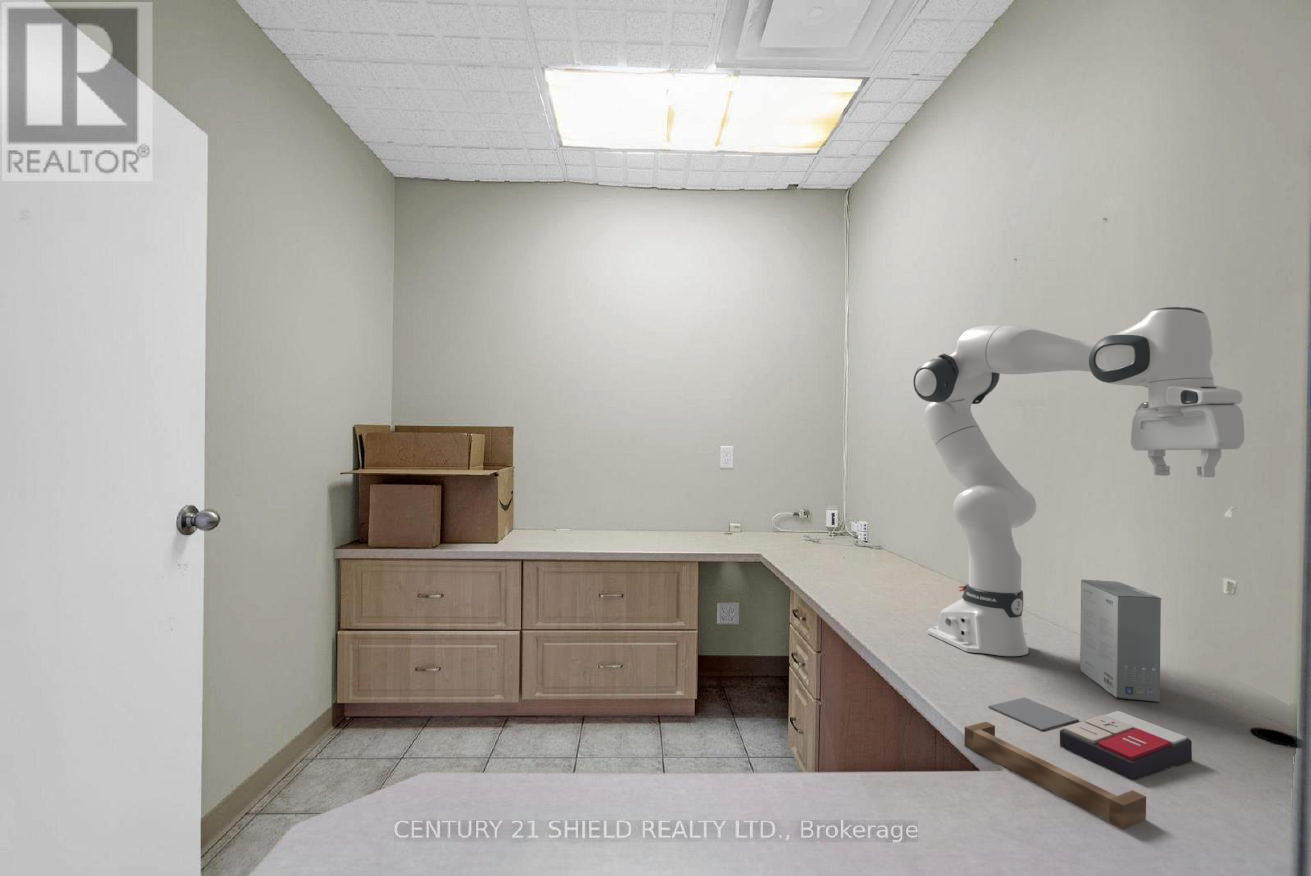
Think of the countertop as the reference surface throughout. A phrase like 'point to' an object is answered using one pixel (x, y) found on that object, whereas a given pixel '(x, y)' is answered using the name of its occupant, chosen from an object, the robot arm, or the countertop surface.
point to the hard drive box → (1121, 639)
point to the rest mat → (1033, 714)
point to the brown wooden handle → (1057, 778)
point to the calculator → (1127, 744)
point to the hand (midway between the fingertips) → (1183, 476)
